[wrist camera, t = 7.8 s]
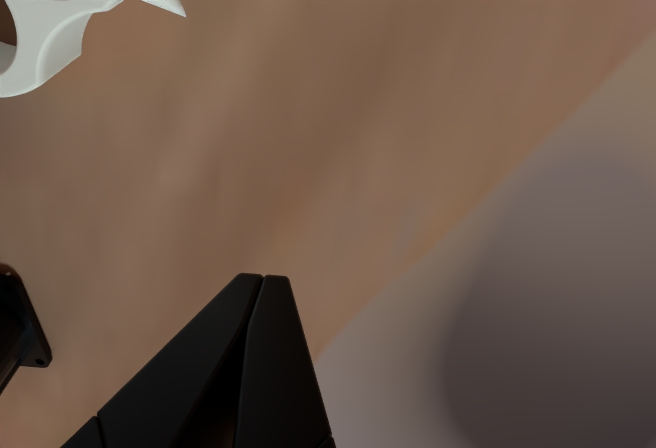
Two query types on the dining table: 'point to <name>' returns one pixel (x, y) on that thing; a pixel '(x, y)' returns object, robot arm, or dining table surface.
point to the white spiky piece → (50, 38)
